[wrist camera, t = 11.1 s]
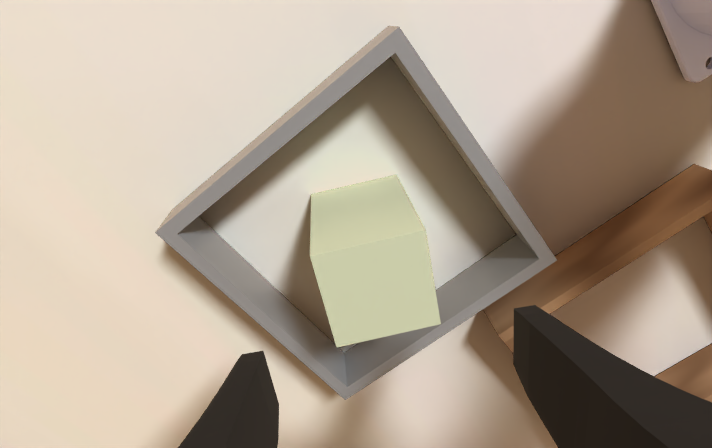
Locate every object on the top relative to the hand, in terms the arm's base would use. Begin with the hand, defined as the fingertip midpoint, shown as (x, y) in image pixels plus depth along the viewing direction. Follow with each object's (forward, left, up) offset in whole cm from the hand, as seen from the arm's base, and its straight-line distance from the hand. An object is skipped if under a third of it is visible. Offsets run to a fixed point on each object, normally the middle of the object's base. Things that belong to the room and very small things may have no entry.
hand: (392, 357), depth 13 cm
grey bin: (0, 0, -9) cm, 9 cm away
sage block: (0, 0, -10) cm, 10 cm away
